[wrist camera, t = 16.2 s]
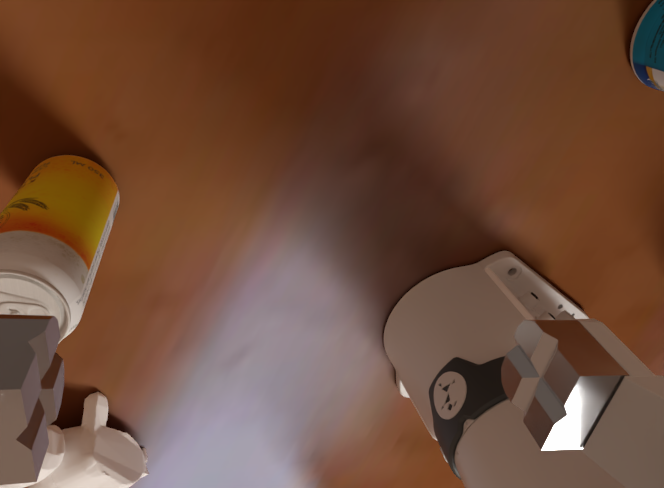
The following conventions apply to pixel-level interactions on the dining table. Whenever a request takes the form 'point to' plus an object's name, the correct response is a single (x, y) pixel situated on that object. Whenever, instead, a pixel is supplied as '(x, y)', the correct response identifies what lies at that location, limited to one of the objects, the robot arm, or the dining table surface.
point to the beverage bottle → (649, 46)
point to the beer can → (55, 239)
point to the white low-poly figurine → (90, 454)
